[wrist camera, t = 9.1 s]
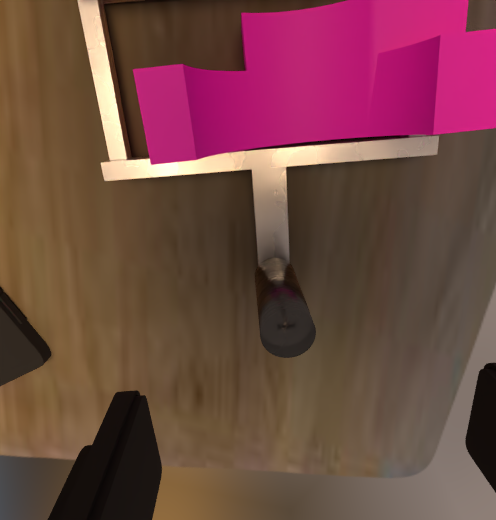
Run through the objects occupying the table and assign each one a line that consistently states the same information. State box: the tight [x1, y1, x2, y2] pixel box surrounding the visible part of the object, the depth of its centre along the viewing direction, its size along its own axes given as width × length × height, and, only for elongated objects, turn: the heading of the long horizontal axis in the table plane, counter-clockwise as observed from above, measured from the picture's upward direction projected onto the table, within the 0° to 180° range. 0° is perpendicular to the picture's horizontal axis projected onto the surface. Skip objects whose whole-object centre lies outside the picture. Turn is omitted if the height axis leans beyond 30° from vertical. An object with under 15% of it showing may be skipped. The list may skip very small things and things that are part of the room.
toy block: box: [133, 0, 496, 165], centre depth 18 cm, size 15×6×8 cm, turn 96°
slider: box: [78, 0, 439, 358], centre depth 18 cm, size 18×19×8 cm
